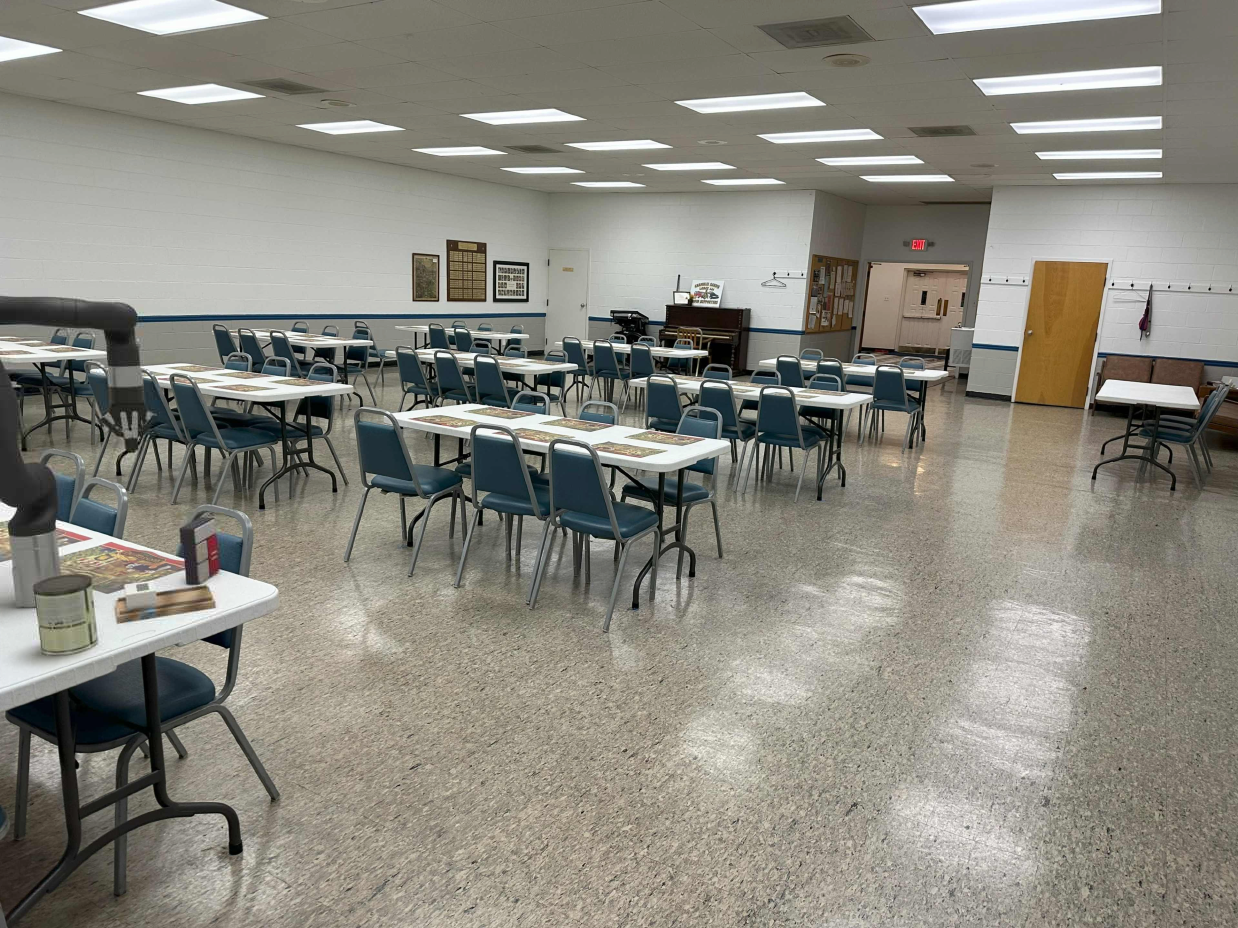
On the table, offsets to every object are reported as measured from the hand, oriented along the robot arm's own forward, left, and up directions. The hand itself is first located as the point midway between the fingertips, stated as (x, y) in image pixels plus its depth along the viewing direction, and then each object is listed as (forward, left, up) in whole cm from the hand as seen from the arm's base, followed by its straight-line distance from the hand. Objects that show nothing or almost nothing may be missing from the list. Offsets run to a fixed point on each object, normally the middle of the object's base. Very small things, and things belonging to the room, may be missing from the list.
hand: (132, 452), depth 213 cm
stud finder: (-2, -26, -31) cm, 41 cm away
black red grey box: (+13, -8, -33) cm, 37 cm away
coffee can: (-16, -41, -33) cm, 55 cm away
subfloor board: (+3, -26, -33) cm, 42 cm away
